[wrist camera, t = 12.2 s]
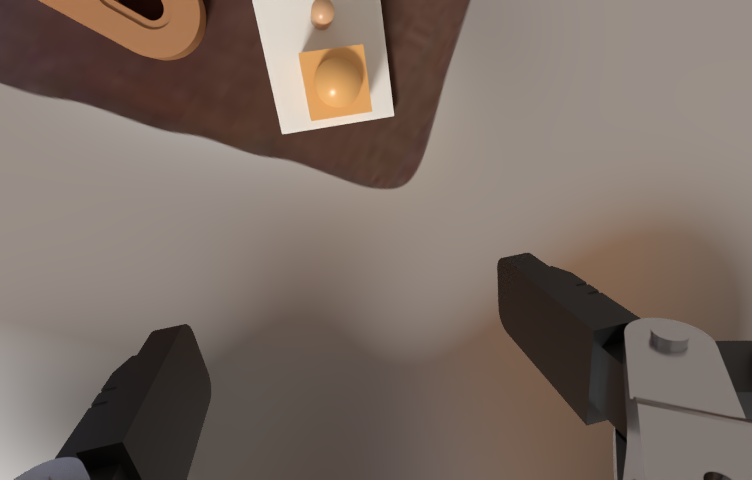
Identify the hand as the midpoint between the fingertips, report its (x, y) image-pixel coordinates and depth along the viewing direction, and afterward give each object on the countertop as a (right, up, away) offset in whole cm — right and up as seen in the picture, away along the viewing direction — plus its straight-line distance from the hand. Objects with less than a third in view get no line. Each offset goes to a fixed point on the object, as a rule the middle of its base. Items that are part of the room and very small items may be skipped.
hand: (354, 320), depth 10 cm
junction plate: (-5, +21, +30) cm, 37 cm away
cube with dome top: (-4, +18, +30) cm, 35 cm away
